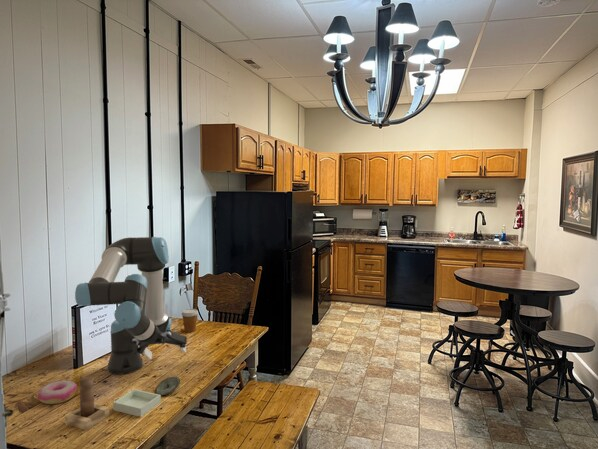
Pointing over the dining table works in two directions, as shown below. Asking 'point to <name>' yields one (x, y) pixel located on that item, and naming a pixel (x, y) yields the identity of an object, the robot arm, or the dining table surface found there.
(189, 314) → the disposable coffee cup
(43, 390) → the donut
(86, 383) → the dowel
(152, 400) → the tray
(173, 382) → the lid
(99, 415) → the square wooden peg frame
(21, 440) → the dining table surface
